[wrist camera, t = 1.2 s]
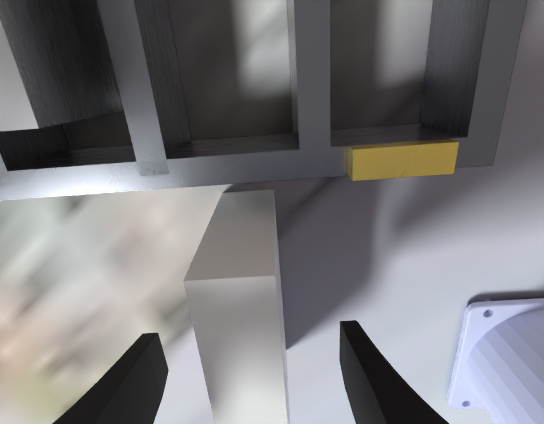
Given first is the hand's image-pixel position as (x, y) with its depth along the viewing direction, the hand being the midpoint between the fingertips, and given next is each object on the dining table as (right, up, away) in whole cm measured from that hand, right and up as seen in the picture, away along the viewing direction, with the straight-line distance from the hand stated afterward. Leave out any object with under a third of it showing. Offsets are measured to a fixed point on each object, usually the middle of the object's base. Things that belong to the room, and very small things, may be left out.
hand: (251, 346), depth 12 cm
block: (0, +2, +4) cm, 5 cm away
